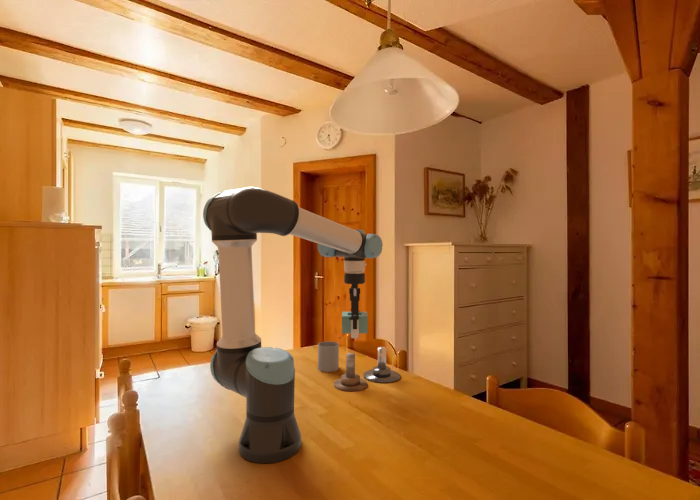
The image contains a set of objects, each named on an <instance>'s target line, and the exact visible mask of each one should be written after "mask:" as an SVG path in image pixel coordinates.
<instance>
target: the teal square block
mask: <svg viewBox="0 0 700 500" xmlns="http://www.w3.org/2000/svg"><path fill="white" fill-rule="evenodd" d="M341 312H342V313H341V334H351V320H349V318H351V311H341ZM368 317H369V316H368V311H360V312H359V334H368V333H369V332H368V331H369V330H368V329H369V326H368V324H369V323H368V321H369V318H368Z"/></svg>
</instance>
